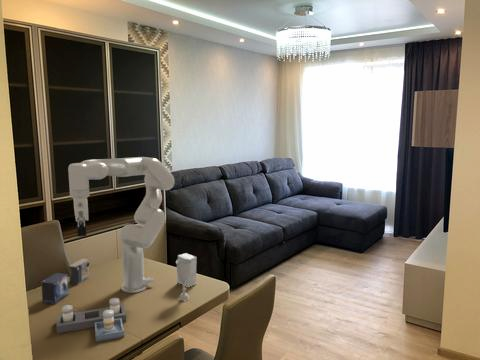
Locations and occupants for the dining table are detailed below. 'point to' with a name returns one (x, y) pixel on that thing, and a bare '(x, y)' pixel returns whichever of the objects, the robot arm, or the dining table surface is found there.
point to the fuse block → (86, 319)
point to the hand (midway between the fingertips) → (82, 232)
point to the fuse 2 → (115, 305)
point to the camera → (79, 271)
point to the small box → (54, 288)
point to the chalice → (183, 274)
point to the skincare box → (192, 276)
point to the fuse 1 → (67, 313)
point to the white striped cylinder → (108, 321)
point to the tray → (112, 335)
